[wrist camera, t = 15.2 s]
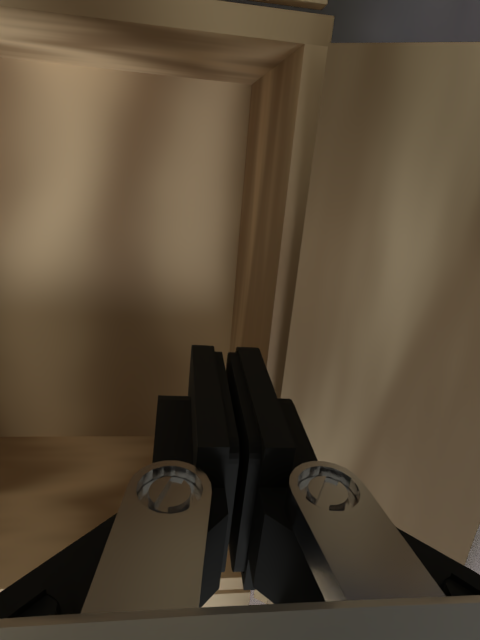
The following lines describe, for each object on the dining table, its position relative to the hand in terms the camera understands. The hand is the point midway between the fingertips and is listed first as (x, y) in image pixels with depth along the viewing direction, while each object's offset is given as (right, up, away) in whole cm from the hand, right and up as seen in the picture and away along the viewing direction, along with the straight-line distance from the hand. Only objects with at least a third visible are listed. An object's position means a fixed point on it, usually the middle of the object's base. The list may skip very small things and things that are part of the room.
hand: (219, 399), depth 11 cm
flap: (+2, 0, +2) cm, 2 cm away
